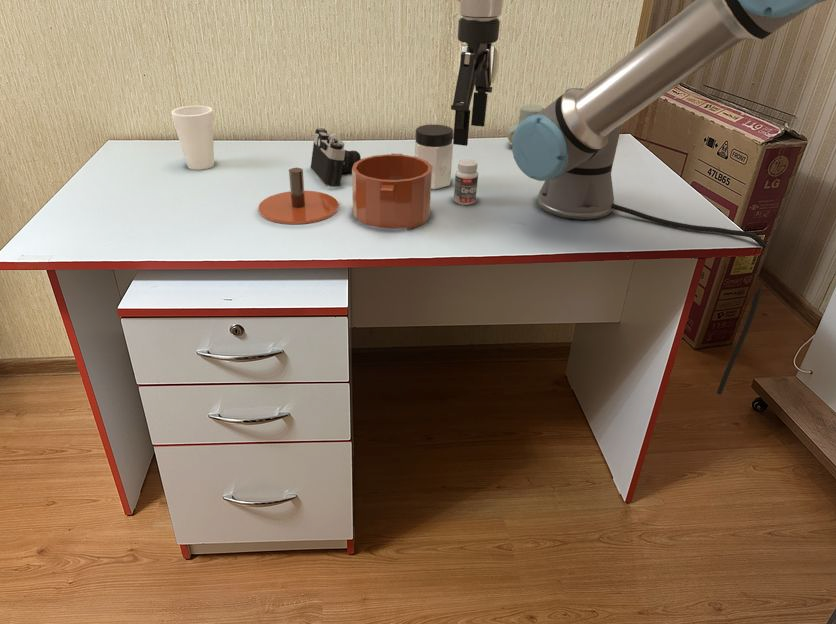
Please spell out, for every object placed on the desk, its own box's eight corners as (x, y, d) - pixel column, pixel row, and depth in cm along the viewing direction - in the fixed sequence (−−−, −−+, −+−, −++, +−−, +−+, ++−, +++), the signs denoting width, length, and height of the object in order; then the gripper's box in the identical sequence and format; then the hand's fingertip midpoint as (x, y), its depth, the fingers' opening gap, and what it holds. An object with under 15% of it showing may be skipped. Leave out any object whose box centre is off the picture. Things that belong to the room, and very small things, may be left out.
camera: (366, 189, 146) (374, 146, 141) (321, 187, 142) (327, 142, 136) (346, 169, 157) (352, 128, 152) (304, 166, 153) (309, 123, 148)
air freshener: (553, 147, 166) (560, 107, 160) (538, 155, 161) (544, 114, 155) (517, 139, 172) (522, 100, 166) (500, 146, 167) (505, 107, 161)
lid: (344, 197, 139) (343, 157, 134) (331, 229, 125) (329, 186, 120) (270, 194, 140) (266, 155, 135) (249, 225, 127) (244, 183, 122)
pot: (431, 197, 138) (434, 151, 133) (426, 238, 121) (429, 188, 116) (361, 194, 140) (360, 149, 134) (346, 234, 123) (344, 184, 117)
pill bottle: (460, 206, 134) (463, 167, 129) (449, 198, 138) (452, 160, 133) (479, 203, 136) (483, 164, 131) (468, 195, 139) (471, 157, 134)
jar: (427, 192, 141) (429, 137, 134) (405, 181, 146) (407, 128, 139) (458, 184, 145) (462, 130, 138) (436, 173, 150) (439, 121, 143)
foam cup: (226, 166, 155) (218, 112, 148) (190, 174, 151) (180, 118, 143) (211, 156, 162) (202, 103, 154) (176, 163, 157) (165, 109, 150)
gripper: (476, 7, 127) (467, 116, 139) (439, 26, 108) (432, 150, 120) (514, 9, 125) (501, 120, 137) (483, 29, 106) (471, 155, 118)
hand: (469, 134), depth 129 cm, fingers open, 13 cm apart
